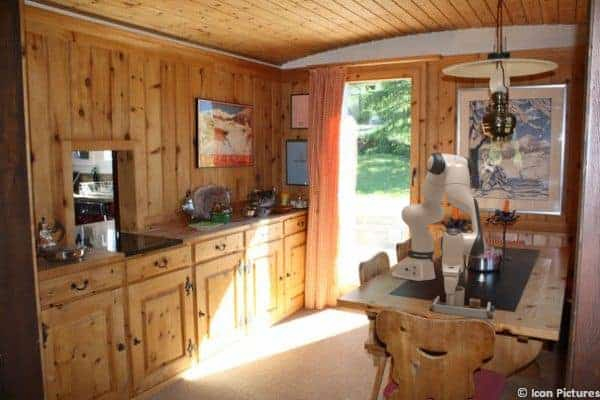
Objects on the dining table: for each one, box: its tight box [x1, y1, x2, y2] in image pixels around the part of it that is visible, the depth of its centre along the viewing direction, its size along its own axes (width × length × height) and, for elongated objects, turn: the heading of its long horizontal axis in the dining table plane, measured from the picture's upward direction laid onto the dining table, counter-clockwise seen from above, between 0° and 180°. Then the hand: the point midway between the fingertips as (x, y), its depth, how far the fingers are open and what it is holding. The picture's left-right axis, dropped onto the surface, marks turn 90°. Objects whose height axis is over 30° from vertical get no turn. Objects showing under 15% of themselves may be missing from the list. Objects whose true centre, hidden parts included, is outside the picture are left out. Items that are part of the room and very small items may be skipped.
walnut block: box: [468, 297, 481, 310], centre depth 208 cm, size 4×4×5 cm
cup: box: [445, 285, 465, 308], centre depth 210 cm, size 7×10×9 cm
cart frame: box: [428, 295, 495, 320], centre depth 210 cm, size 25×13×3 cm, turn 66°
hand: (451, 297), depth 216 cm, fingers closed, pressing on cup
